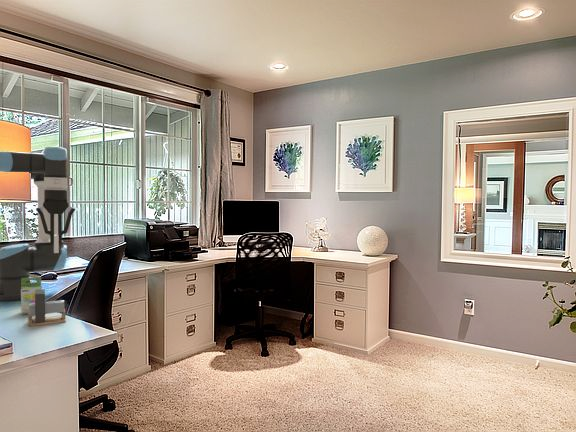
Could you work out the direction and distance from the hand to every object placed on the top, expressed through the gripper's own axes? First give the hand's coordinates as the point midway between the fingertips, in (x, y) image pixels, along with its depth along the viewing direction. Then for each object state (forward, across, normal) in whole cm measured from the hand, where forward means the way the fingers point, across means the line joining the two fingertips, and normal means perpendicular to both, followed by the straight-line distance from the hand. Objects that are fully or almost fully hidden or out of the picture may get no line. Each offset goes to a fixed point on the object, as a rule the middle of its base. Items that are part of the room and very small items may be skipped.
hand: (56, 252), depth 162 cm
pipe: (+21, -3, -6) cm, 22 cm away
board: (+24, -3, -6) cm, 25 cm away
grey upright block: (+24, -5, -6) cm, 25 cm away
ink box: (+25, -8, +10) cm, 28 cm away
